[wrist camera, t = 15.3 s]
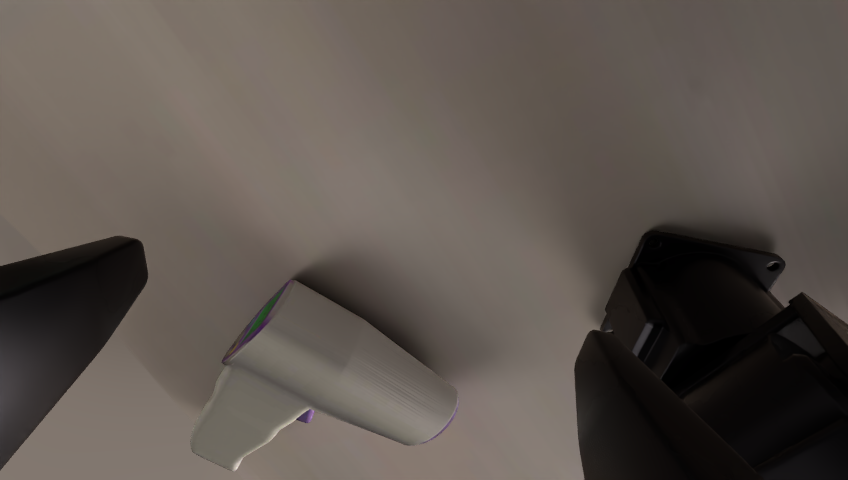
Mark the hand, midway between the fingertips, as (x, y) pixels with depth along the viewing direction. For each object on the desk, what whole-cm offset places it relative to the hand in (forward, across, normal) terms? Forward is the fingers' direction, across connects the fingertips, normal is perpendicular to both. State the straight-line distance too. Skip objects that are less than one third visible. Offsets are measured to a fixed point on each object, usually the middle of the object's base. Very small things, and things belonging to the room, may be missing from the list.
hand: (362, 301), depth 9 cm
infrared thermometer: (+13, +4, +18) cm, 23 cm away
